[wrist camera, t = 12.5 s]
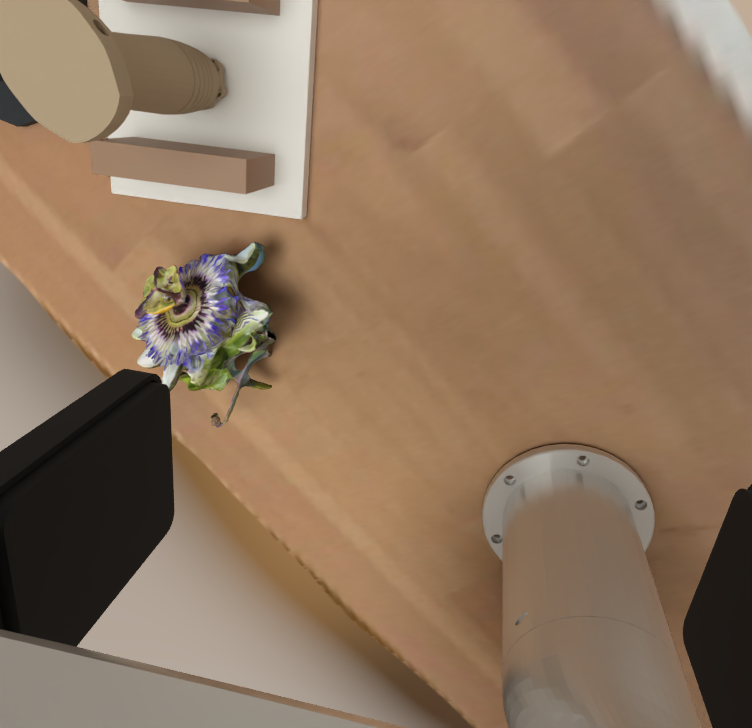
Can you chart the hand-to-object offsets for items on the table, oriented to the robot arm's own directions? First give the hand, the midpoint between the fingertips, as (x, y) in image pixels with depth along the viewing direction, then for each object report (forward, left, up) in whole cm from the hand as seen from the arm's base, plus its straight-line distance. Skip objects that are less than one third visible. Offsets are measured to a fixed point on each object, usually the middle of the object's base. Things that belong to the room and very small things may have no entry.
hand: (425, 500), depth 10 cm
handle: (+6, +19, -32) cm, 38 cm away
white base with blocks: (+6, +19, -33) cm, 39 cm away
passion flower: (-10, +17, -34) cm, 39 cm away
